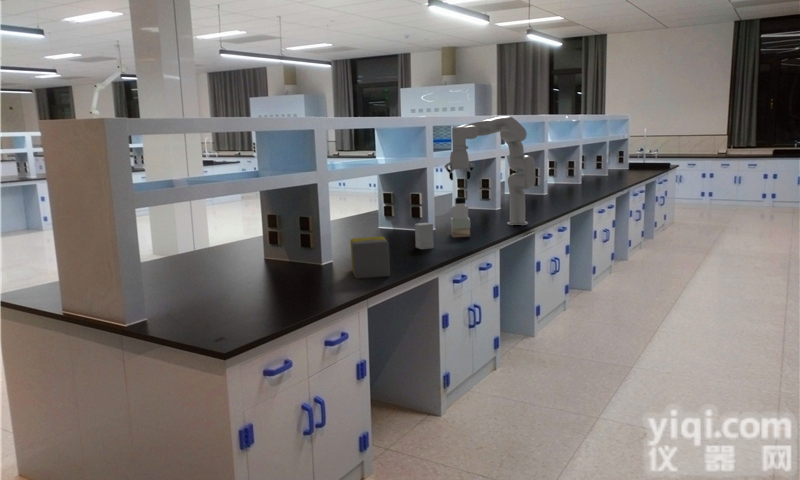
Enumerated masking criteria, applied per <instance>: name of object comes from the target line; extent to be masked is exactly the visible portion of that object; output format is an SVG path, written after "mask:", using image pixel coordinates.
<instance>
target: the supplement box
mask: <svg viewBox="0 0 800 480" xmlns="http://www.w3.org/2000/svg"><path fill="white" fill-rule="evenodd" d="M414 233H415V234H414V236H415V238H414V240H415V248H416V249H418V250H419V249H420V250H428V249H429V250H430V249H434V248H435V247H434V246H435V245H434V241H435V240H434V224H433V223H429V222H420V223H415V224H414Z"/></svg>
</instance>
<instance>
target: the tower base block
mask: <svg viewBox="0 0 800 480" xmlns="http://www.w3.org/2000/svg"><path fill="white" fill-rule="evenodd" d="M450 227H451V226H450ZM450 232H451V234H450V235H451V237H452V238H465V237H467V238H469V237H471V227H470V228H460V229H453V228H452V227H451V228H450Z"/></svg>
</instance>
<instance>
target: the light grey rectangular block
mask: <svg viewBox="0 0 800 480" xmlns="http://www.w3.org/2000/svg"><path fill="white" fill-rule="evenodd" d="M451 211H452V212H451V214H452V215H451V216H452V219H466V218H468V217H469V205H468V204H466V197H463V196H458V197H457V196H456V197H455V198H454V205H453V206H451Z"/></svg>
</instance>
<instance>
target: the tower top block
mask: <svg viewBox="0 0 800 480" xmlns="http://www.w3.org/2000/svg"><path fill="white" fill-rule="evenodd" d="M450 227H452V228H453V229H460V228H470V229H471V219H470V217H469V216H468V218H466V219H452V217H450Z"/></svg>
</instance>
